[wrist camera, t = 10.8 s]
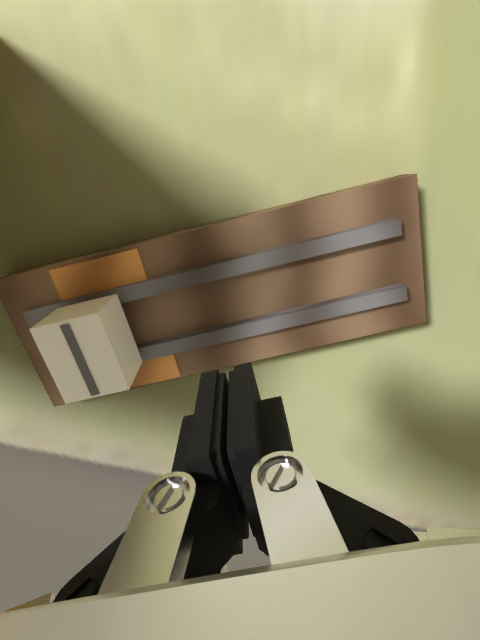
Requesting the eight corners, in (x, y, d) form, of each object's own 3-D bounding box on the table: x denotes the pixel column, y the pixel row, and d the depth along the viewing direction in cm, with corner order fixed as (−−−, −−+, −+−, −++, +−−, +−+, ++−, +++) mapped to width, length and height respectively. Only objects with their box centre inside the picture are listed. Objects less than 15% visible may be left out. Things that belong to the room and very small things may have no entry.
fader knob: (121, 289, 24) (97, 313, 20) (145, 355, 26) (128, 390, 22) (64, 303, 25) (28, 329, 20) (92, 367, 26) (64, 405, 22)
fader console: (402, 174, 24) (422, 173, 22) (413, 312, 28) (432, 326, 25) (9, 274, 26) (-16, 284, 24) (65, 392, 30) (49, 412, 27)
